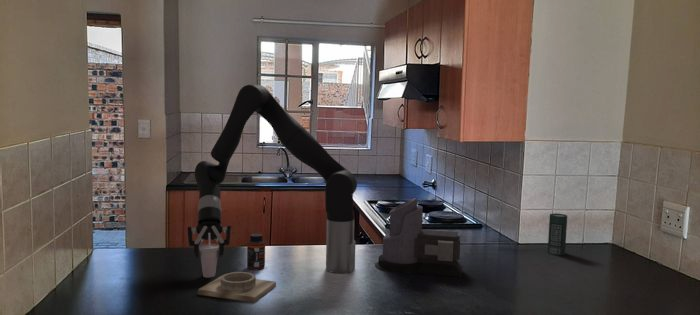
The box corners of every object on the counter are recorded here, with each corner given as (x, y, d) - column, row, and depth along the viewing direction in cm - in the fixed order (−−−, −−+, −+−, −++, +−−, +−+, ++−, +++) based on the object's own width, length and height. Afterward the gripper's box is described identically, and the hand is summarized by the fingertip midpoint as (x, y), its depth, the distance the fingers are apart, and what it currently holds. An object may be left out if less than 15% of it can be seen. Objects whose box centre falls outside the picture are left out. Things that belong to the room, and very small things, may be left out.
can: (566, 252, 208) (568, 214, 206) (562, 255, 203) (565, 217, 201) (549, 249, 211) (552, 212, 210) (546, 253, 206) (548, 215, 205)
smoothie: (201, 280, 165) (200, 235, 164) (196, 274, 171) (196, 231, 169) (221, 277, 168) (221, 233, 167) (216, 271, 174) (216, 229, 172)
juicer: (371, 271, 179) (373, 199, 176) (378, 258, 194) (380, 192, 192) (461, 279, 172) (465, 204, 170) (462, 265, 188) (465, 197, 186)
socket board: (275, 286, 161) (276, 273, 160) (255, 302, 147) (255, 288, 147) (222, 279, 166) (222, 267, 165) (198, 294, 152) (198, 281, 152)
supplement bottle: (261, 271, 175) (261, 237, 174) (244, 269, 177) (244, 236, 176) (267, 265, 181) (267, 233, 180) (251, 264, 182) (251, 232, 181)
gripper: (186, 206, 173) (184, 251, 162) (231, 205, 176) (232, 249, 166) (187, 218, 178) (185, 263, 168) (231, 217, 182) (232, 261, 172)
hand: (209, 256), depth 167 cm, fingers closed on smoothie, 6 cm apart
